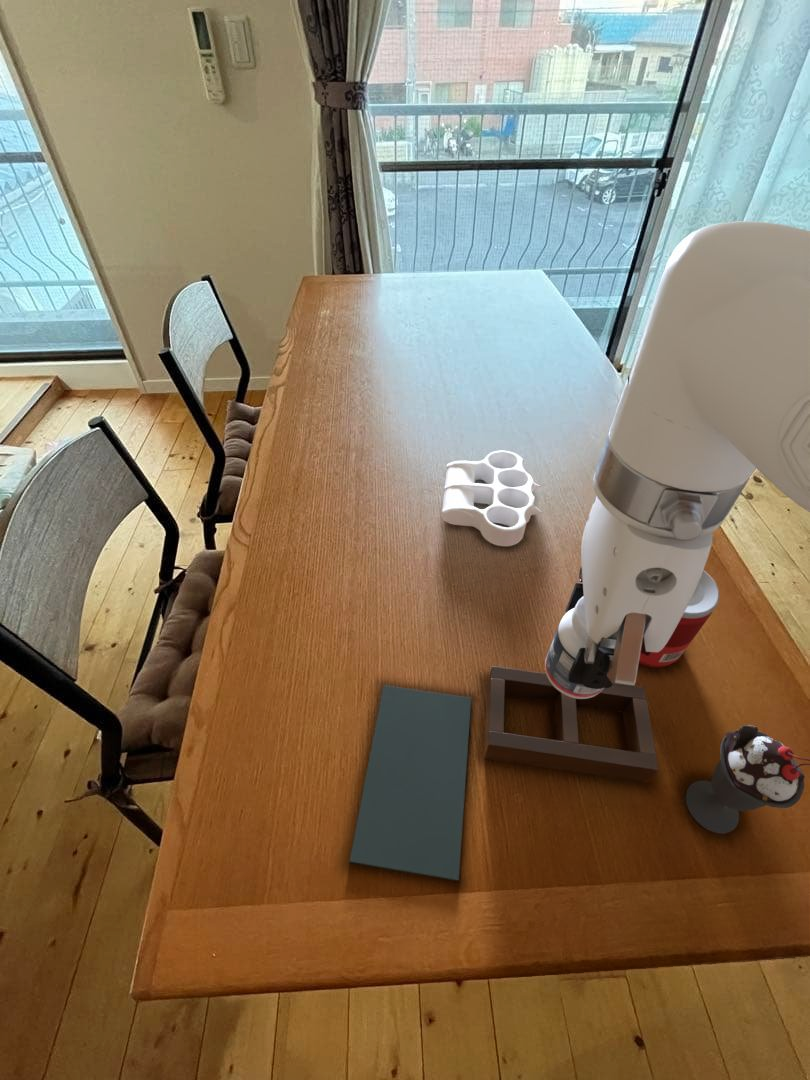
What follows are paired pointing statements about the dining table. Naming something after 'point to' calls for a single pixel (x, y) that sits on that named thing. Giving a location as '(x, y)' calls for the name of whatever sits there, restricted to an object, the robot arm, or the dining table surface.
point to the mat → (415, 785)
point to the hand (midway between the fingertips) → (586, 647)
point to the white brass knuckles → (490, 496)
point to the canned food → (685, 624)
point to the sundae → (746, 780)
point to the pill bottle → (570, 652)
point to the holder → (570, 729)
